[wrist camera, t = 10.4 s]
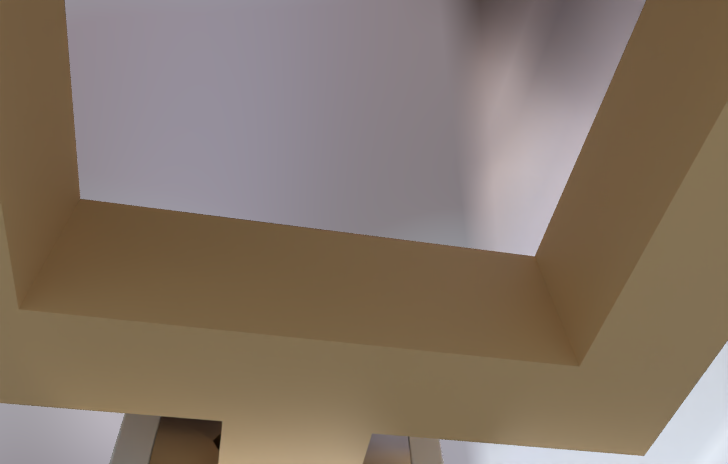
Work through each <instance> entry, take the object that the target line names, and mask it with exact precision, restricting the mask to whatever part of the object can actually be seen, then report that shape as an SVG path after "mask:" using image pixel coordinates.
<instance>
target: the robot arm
mask: <svg viewBox="0 0 728 464" xmlns="http://www.w3.org/2000/svg"><path fill="white" fill-rule="evenodd" d="M221 431H222V421H214V420H202V419H189V418H177V417H165V416H153V415H141V414H129V413H125V415H124V418H123V421H122V424H121V428H120V431H119V434H118V437H117V441H116V444H115V447H114V450H113V453H112V457H111V460H110V463H109V464H218V462H219V451H220V441H221ZM363 464H444V462H443V456H442V450H441V444H440V439H433V438H421V437H409V436H396V435H384V434H372V435H371V439H370V442H369V445H368V448H367V451H366V455H365V458H364V461H363Z"/></svg>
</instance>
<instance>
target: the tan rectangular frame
mask: <svg viewBox="0 0 728 464" xmlns="http://www.w3.org/2000/svg"><path fill="white" fill-rule="evenodd" d="M727 341H728V0H646V2H645V5H644V7H643V9H642V11H641V14H640V16H639V18H638V21H637V23H636V25H635V28H634V30H633V32H632V34H631V37H630V39H629V41H628V44H627V46H626V48H625V50H624V53H623V55H622V57H621V60H620V62H619V64H618V67H617V69H616V71H615V73H614V76H613V78H612V80H611V83H610V85H609V87H608V90H607V92H606V94H605V96H604V99H603V101H602V103H601V106H600V108H599V110H598V112H597V115H596V117H595V119H594V122H593V124H592V126H591V129H590V131H589V133H588V135H587V138H586V140H585V142H584V145H583V147H582V149H581V152H580V154H579V156H578V158H577V161H576V163H575V165H574V168H573V170H572V172H571V174H570V177H569V179H568V181H567V184H566V186H565V188H564V191H563V193H562V195H561V197H560V200H559V202H558V204H557V207H556V209H555V211H554V214H553V216H552V218H551V220H550V223H549V225H548V227H547V230H546V232H545V234H544V236H543V239H542V241H541V243H540V246H539V248H538V250H537V253H536V255H535V256H527V255H519V254H511V253H503V252H495V251H487V250H480V249H471V248H463V247H455V246H448V245H440V244H432V243H424V242H416V241H409V240H400V239H393V238H385V237H377V236H369V235H361V234H353V233H345V232H338V231H330V230H321V229H313V228H306V227H298V226H290V225H282V224H273V223H266V222H259V221H251V220H243V219H235V218H227V217H219V216H211V215H203V214H195V213H188V212H180V211H172V210H164V209H156V208H147V207H139V206H132V205H124V204H117V203H109V202H101V201H93V200H85V199H80V190H79V178H78V165H77V152H76V140H75V128H74V114H73V103H72V89H71V77H70V64H69V52H68V39H67V26H66V14H65V1H64V0H0V403H7V404H19V405H31V406H44V407H56V408H68V409H80V410H92V411H104V412H117V413H129V414H141V415H153V416H165V417H177V418H189V419H202V420H214V421H222V431H221V441H220V451H219V462H218V464H363V461H364V458H365V455H366V451H367V448H368V445H369V442H370V439H371V435H372V434H384V435H396V436H409V437H421V438H433V439H445V440H458V441H469V442H482V443H494V444H506V445H518V446H530V447H542V448H555V449H567V450H579V451H591V452H603V453H616V454H628V455H640V456H644V455H645V454H646V452H647V451H648V450H649V448H650V447H651V446H652V444H653V443H654V441H655V440H656V439H657V437H658V436H659V434H660V433H661V432H662V430H663V429H664V428H665V426H666V425H667V423H668V422H669V421H670V419H671V418H672V417H673V415H674V414H675V412H676V411H677V410H678V408H679V407H680V406H681V404H682V403H683V401H684V400H685V399H686V397H687V396H688V395H689V393H690V392H691V390H692V389H693V388H694V386H695V385H696V383H697V382H698V381H699V379H700V378H701V377H702V375H703V374H704V372H705V371H706V370H707V368H708V367H709V366H710V364H711V363H712V361H713V360H714V359H715V357H716V356H717V355H718V353H719V352H720V350H721V349H722V348H723V346H724V345H725V344H726V342H727Z"/></svg>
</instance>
